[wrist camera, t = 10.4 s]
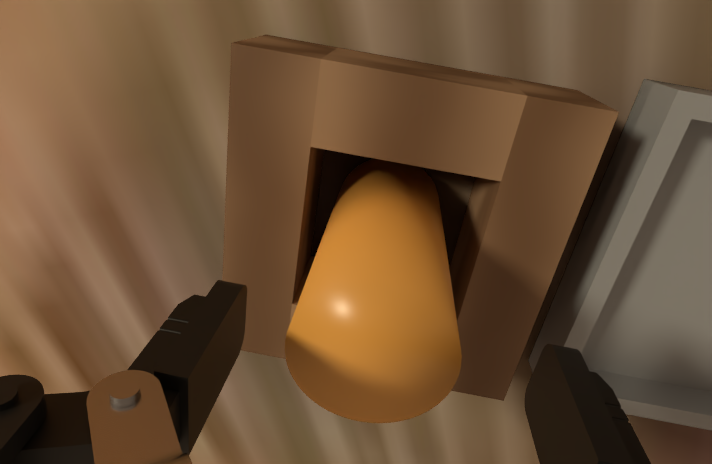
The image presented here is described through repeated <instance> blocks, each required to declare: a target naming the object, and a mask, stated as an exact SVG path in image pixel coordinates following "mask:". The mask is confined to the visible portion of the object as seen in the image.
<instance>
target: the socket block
mask: <svg viewBox="0 0 712 464" xmlns="http://www.w3.org/2000/svg"><path fill="white" fill-rule="evenodd" d="M618 114H619V112H618V111H616V110H614V109H612V108H610V107H608V106H606V105H604V104H602V103H601V102H599V101H597V100H595V99H593V98H591V97H589V96H587V95H585V94H583V93H582V92H580V91H578V90H573V89H567V88H562V87H556V86H551V85H545V84H539V83H534V82H528V81H522V80H517V79H511V78H506V77H500V76H494V75H489V74H483V73H478V72H472V71H466V70H461V69H455V68H450V67H444V66H438V65H433V64H427V63H421V62H416V61H410V60H405V59H399V58H393V57H388V56H382V55H377V54H371V53H365V52H360V51H354V50H348V49H343V48H337V47H332V46H326V45H320V44H315V43H309V42H304V41H298V40H292V39H287V38H281V37H275V36H270V35H263V36H259V37H255V38H251V39H246V40H242V41H238V42H233V43H231V70H230V96H229V123H228V149H227V175H226V202H225V228H224V254H223V281H227V282H232V283H237V284H242V285H246V286H247V305H246V322H245V334H244V340H243V344H242V347H241V350H242V351H248V352H253V353H258V354H263V355H268V356H274V357H279V358H284V359H286V357H285V339H286V334H287V331H288V328H289V325H290V323H291V320H292V317H293V315H294V312H295V309H296V307H297V304H298V301H299V298H300V296H301V293H302V290H303V288H304V285H305V282H306V280H307V277H308V274H309V272H310V269H311V266H312V264H313V261H314V258H315V256H311V249H312V242H313V234H314V227H315V219H316V211H317V204H318V196H319V189H320V181H321V173H322V166H323V158H324V151H325V150H331V151H336V152H342V153H347V154H353V155H358V156H364V157H369V158H375V159H380V160H386V161H391V162H397V163H402V164H408V165H413V166H418V167H424V168H429V169H435V170H440V171H446V172H451V173H457V174H462V175H468V176H473V177H475V181H474V184H473V188H472V191H471V195H470V198H469V202H468V205H467V209H466V212H465V216H464V219H463V223H462V227H461V230H460V234H459V237H458V241H457V244H456V248H455V251H454V255H453V258H452V262H451V265H450V269H449V270H450V277H451V284H452V291H453V298H454V305H455V311H456V318H457V325H458V332H459V339H460V345H461V355H462V360H461V369H460V373H459V376H458V378H457V381H456V383H455V385H454V386H453V388H452V390H451V391H456V392H461V393H467V394H472V395H477V396H482V397H488V398H493V399H498V400H503V401H504V398H505V396H506V393H507V391H508V388H509V386H510V383H511V381H512V378H513V376H514V373H515V371H516V368H517V366H518V363H519V361H520V358H521V356H522V353H523V351H524V348H525V346H526V343H527V341H528V338H529V336H530V333H531V331H532V328H533V326H534V323H535V321H536V318H537V316H538V313H539V311H540V308H541V306H542V303H543V301H544V298H545V296H546V293H547V291H548V288H549V286H550V283H551V281H552V278H553V276H554V273H555V271H556V268H557V266H558V263H559V261H560V258H561V256H562V253H563V251H564V248H565V246H566V243H567V241H568V238H569V236H570V233H571V231H572V228H573V226H574V224H575V221H576V219H577V216H578V214H579V211H580V209H581V206H582V204H583V201H584V199H585V196H586V194H587V191H588V189H589V186H590V184H591V181H592V179H593V176H594V174H595V171H596V169H597V166H598V164H599V161H600V159H601V156H602V154H603V151H604V149H605V146H606V144H607V141H608V139H609V136H610V134H611V131H612V129H613V126H614V124H615V121H616V119H617V116H618Z"/></svg>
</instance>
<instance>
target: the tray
mask: <svg viewBox="0 0 712 464" xmlns="http://www.w3.org/2000/svg"><path fill="white" fill-rule="evenodd" d="M547 344H553V345H558V346H564V347H569V348H574V349H578V350H579V351H580V352H581V354H582V356H583V358H584V361H585V363H586V365H587V367H588V369H589V371H591V372H596V373H598V374H599V375H600V376H601V377H602V379H603V380H604V381H605V382H606V383H607V384H608V385H609V386H610V387H611V388H612V389H613V391H614V393H615V395H616V397H617V399H618V401H619V403H620V405H621V409H623V410H624V412H625V414H628V415H633V416H638V417H644V418H649V419H654V420H659V421H665V422H670V423H675V424H680V425H685V426H691V427H696V428H701V429H706V430H712V91H710V90H704V89H699V88H693V87H687V86H682V85H676V84H671V83H665V82H659V81H654V80H648V79H644V80H643V83H642V85H641V88H640V90H639V93H638V95H637V98H636V100H635V102H634V105H633V107H632V110H631V112H630V115H629V117H628V119H627V122H626V124H625V127H624V129H623V132H622V134H621V136H620V139H619V141H618V144H617V146H616V149H615V151H614V153H613V156H612V158H611V161H610V163H609V166H608V168H607V170H606V173H605V175H604V178H603V180H602V183H601V185H600V187H599V190H598V192H597V195H596V197H595V200H594V202H593V204H592V207H591V209H590V212H589V214H588V217H587V219H586V221H585V224H584V226H583V229H582V231H581V234H580V236H579V239H578V241H577V243H576V246H575V248H574V251H573V253H572V256H571V258H570V260H569V263H568V265H567V268H566V270H565V273H564V275H563V277H562V280H561V282H560V285H559V287H558V290H557V292H556V294H555V297H554V299H553V302H552V304H551V307H550V309H549V311H548V314H547V316H546V319H545V321H544V324H543V326H542V328H541V331H540V333H539V336H538V338H537V341H536V343H535V345H534V348H533V350H532V353H531V355H530V358H529V360H528V361H529V364H530V367H531V370H532V373H533V371H534V369H535V366H536V364H537V362H538V359H539V357H540V355H541V352H542V350H543V348H544V346H545V345H547Z"/></svg>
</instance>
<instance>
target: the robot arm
mask: <svg viewBox="0 0 712 464" xmlns="http://www.w3.org/2000/svg"><path fill="white" fill-rule="evenodd" d="M246 305H247V286H246V285H242V284H237V283H232V282H227V281H221V280H218V281H217V282H216V283H215V285H214V286H213V287H212V289H211V290H210V292H209V293H208V295H207V296H206V297H204V296H199V295H193V296H191V297H190V298H188V299H186V300H185V301H183V302H181V303H180V304H178V305H177V307H176V308H175V309H174V310H173V312H172V313H171V314H170V316H169V317H168V320H166V321H165V322H164V323H163V325H162V326H161V327H160V330H159V331H157V332H156V334H155V335H154V336H153V338H152V339H151V340H150V341H149V343H148V344H147V345H146V347H145V348H144V349H143V351H142V352H141V353H140V354H139V356H138V357H137V358H136V360H135V361H134V362H133V363H132V365H131V366H130V367H129V369H128V370H126V371H121V372H117V373H114V374H111V375H109V376H107V377H105V378H103V379H102V380H100V381H99V382H98V383H97V384H96V385H95V386H93V388H92V389H91V390H90V391H86V392H75V393H59V394H44V389H43V386H42V384H41V383H40V382H39V381H38V380H37V379H35V378H33V377H31V376H26V375H8V376H2V377H0V464H192V462H191V459H190V457H189V454H190V452H191V450H192V448H193V446H194V444H195V442H196V440H197V438H198V436H199V434H200V432H201V430H202V428H203V426H204V424H205V422H206V420H207V418H208V416H209V414H210V412H211V410H212V408H213V406H214V404H215V402H216V400H217V398H218V396H219V394H220V392H221V390H222V388H223V386H224V383H225V381H226V379H227V377H228V375H229V373H230V371H231V369H232V367H233V365H234V363H235V361H236V359H237V357H238V355H239V353H240V350H241V347H242V344H243V340H244V334H245V322H246ZM525 411H526V415H527V418H528V422H529V426H530V429H531V433H532V437H533V440H534V444H535V448H536V451H537V455H538V458H539V462H540V464H651V463H650V461H649V459H648V457H647V455H646V453H645V451H644V449H643V447H642V445H641V443H640V442H639V440H638V438H637V436H636V434H635V432H634V430H633V428H632V426H631V424H630V423H628V418H627V416H626V414H625V412H624V410H623V409H621V405H620V403H619V401H618V399H617V397H616V395H615V393H614V391H613V389H612V388H611V387H610V386H609V385H608V384H607V383H606V382H605V381H604V380H603V379H602V377H601V376H600V375H599V374H598V373H596V372H591V371H589V369H588V367H587V365H586V363H585V361H584V358H583V356H582V354H581V352H580V351H579V350H578V349H574V348H569V347H564V346H558V345H553V344H547V345H545V346H544V348H543V350H542V352H541V355H540V357H539V359H538V362H537V364H536V366H535V369H534V371H533V374H532V376H531V378H530V381H529V383H528V386H527V389H526V393H525Z"/></svg>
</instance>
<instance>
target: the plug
mask: <svg viewBox="0 0 712 464" xmlns="http://www.w3.org/2000/svg"><path fill="white" fill-rule="evenodd" d="M285 357H286V362H287V365H288V369H289V371H290V373H291V375H292V377H293V379H294V380H295V382H296V383H297V385H298V386H299V387H300V389H301V390H302V391H303V392H304V393H305V394H306V395H307V396H308V397H309V398H310V399H311V400H313V401H314V402H315V403H317V404H318V405H319V406H321V407H323V408H324V409H326V410H328V411H330V412H332V413H334V414H336V415H339V416H342V417H345V418H348V419H352V420H356V421H361V422H368V423H391V422H398V421H403V420H407V419H410V418H413V417H416V416H419V415H421V414H423V413H425V412H427V411H429V410H430V409H432V408H433V407H435V406H436V405H438V404H439V403H440V402H441V401H442V400H443V399H444V398H445V397H446V396H447V395H448V394H449V392H450V391H451V390H452V388H453V386H454V385H455V383H456V381H457V378H458V376H459V373H460V369H461V360H462V355H461V345H460V339H459V332H458V325H457V318H456V311H455V305H454V298H453V291H452V284H451V277H450V270H449V264H448V257H447V250H446V243H445V236H444V229H443V223H442V216H441V209H440V202H439V196H438V192H437V189H436V186H435V184H434V182H433V181H432V179H431V178H430V176H429V175H428V174H427V173H426V172H425V171H424V170H423V169H422V168H421V167H418V166H413V165H408V164H402V163H397V162H391V161H386V160H380V159H375V158H374V159H370V160H368V161H366V162H364V163H362V164H360V165H358V166H357V167H356V168H355V169H353V170H352V171H351V172H350V173H349V175H348V176H347V177H346V179H345V180H344V182H343V184H342V186H341V189H340V192H339V194H338V197H337V200H336V202H335V205H334V208H333V210H332V213H331V216H330V218H329V221H328V224H327V226H326V229H325V232H324V234H323V237H322V240H321V242H320V245H319V248H318V250H317V253H316V256H315V258H314V261H313V264H312V266H311V269H310V272H309V274H308V277H307V280H306V282H305V285H304V288H303V290H302V293H301V296H300V298H299V301H298V304H297V307H296V309H295V312H294V315H293V317H292V320H291V323H290V325H289V328H288V331H287V334H286V339H285Z"/></svg>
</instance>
